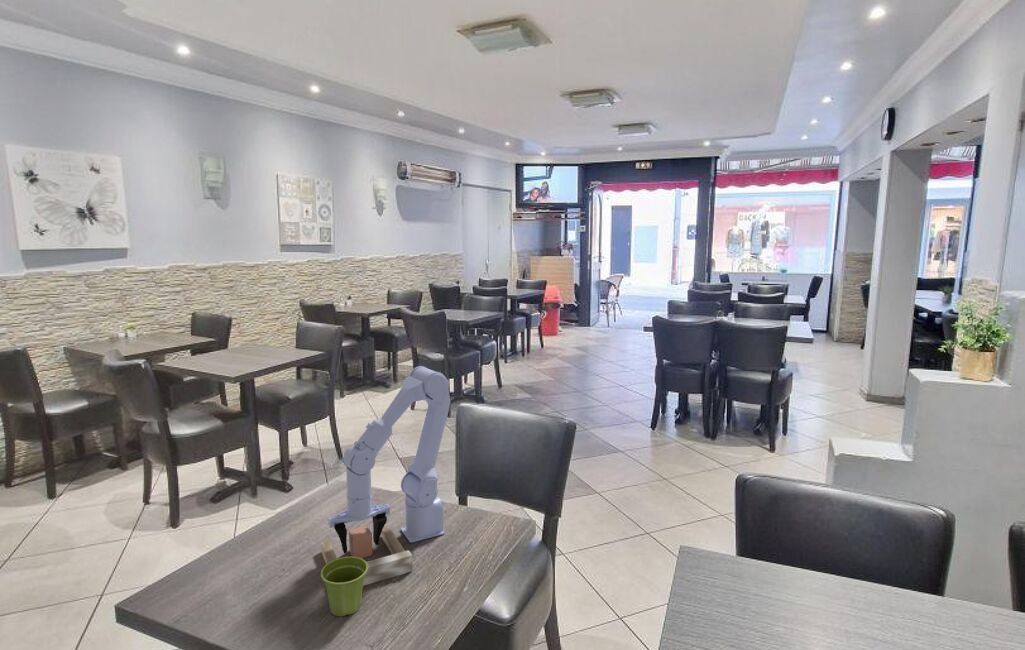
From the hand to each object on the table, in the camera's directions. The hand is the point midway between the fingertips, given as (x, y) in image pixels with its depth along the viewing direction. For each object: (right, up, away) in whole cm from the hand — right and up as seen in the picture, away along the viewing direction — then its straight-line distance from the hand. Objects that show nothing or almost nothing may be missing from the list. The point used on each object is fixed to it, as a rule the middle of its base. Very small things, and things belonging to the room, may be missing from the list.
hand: (360, 546), depth 133 cm
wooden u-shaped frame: (+2, -2, -3) cm, 5 cm away
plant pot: (+3, -5, -20) cm, 21 cm away
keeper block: (0, -2, 0) cm, 2 cm away
